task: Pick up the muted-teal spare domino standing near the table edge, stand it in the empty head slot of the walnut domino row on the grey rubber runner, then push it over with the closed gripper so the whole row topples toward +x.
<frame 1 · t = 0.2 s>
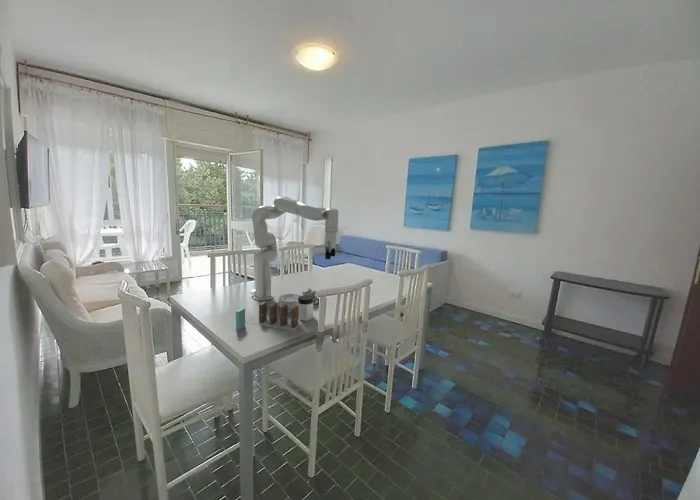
hand: (330, 257, 175), 31 cm above the table, fingers open, 9 cm apart
jar: (305, 318, 160), on the table
passion flower: (310, 304, 183), on the table
tile 2: (263, 321, 153), resting on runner
tile 4: (283, 324, 150), resting on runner
tile 3: (273, 322, 151), resting on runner
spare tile: (240, 328, 144), on the table
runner: (272, 323, 152), on the table
paper bowls: (291, 310, 172), on the table
tile 5: (294, 325, 149), resting on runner
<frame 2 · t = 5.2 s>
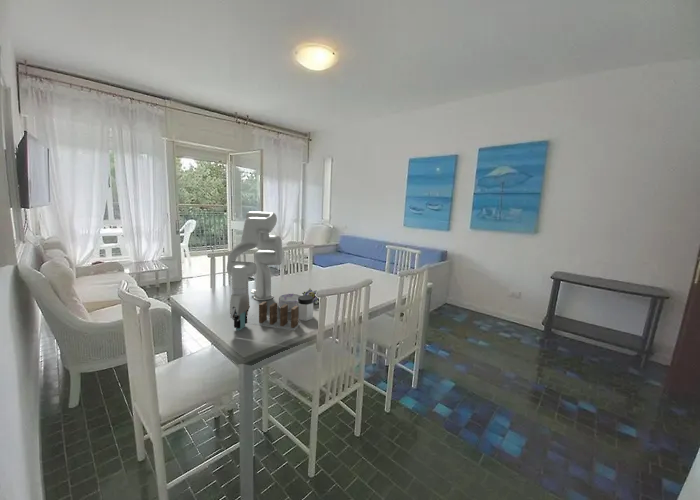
hand: (240, 325, 143), 2 cm above the table, fingers closed on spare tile, 4 cm apart
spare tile: (240, 328, 144), on the table, touching gripper
everything else where it was.
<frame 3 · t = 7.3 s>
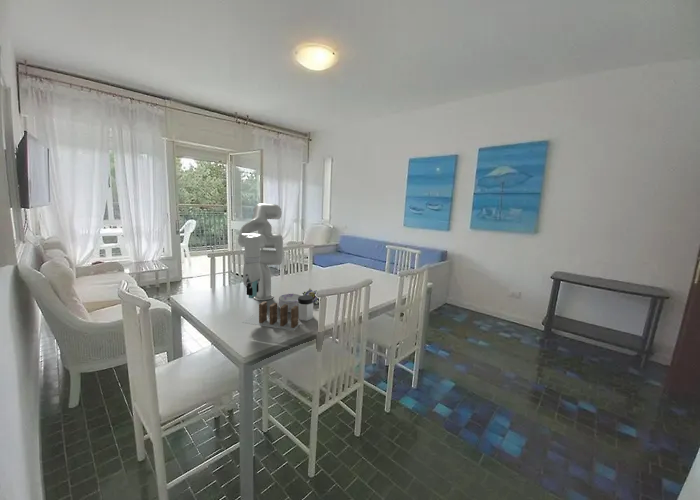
hand: (252, 293, 152), 15 cm above the table, fingers closed on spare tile, 4 cm apart
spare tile: (252, 296, 152), point 13 cm above the table, touching gripper
everything else where it was.
when the fingers open (3 cm above the table, at t = 9.9 s): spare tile stays where it is, resting on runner.
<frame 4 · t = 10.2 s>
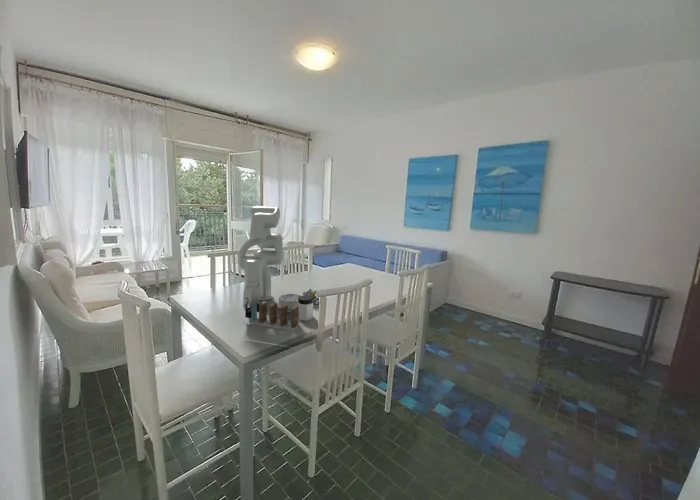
hand: (252, 314, 154), 3 cm above the table, fingers open, 7 cm apart
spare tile: (252, 319, 154), resting on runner
everything else where it was.
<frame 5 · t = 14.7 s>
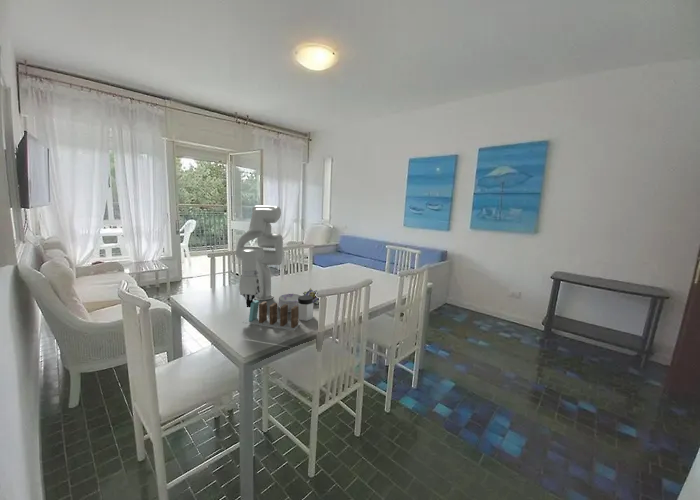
hand: (249, 306, 153), 8 cm above the table, fingers closed
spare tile: (252, 319, 154), point 1 cm above the table, tilted 7°, touching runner
everything else where it was.
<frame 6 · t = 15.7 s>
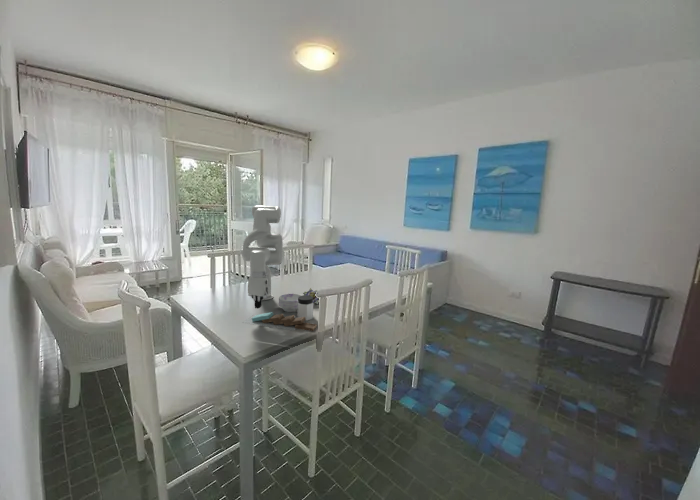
hand: (257, 307, 152), 8 cm above the table, fingers closed
tile 2: (264, 319, 152), point 1 cm above the table, tilted 73°, touching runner, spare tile, tile 3
tile 4: (286, 322, 150), point 1 cm above the table, tilted 72°, touching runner, tile 3, tile 5
tile 3: (275, 321, 151), point 1 cm above the table, tilted 72°, touching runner, tile 2, tile 4
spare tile: (254, 318, 154), point 1 cm above the table, tilted 72°, touching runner, tile 2
tile 5: (296, 324, 149), point 1 cm above the table, tilted 93°, touching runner, tile 4
everything else where it was.
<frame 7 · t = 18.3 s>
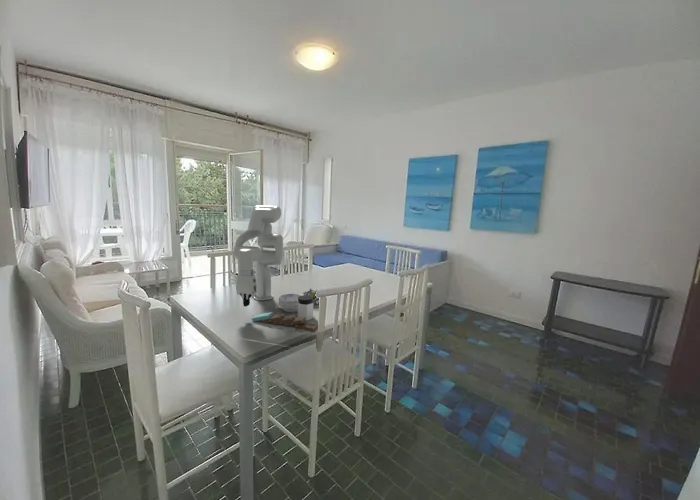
hand: (246, 305, 154), 8 cm above the table, fingers closed
nothing on the table moved.
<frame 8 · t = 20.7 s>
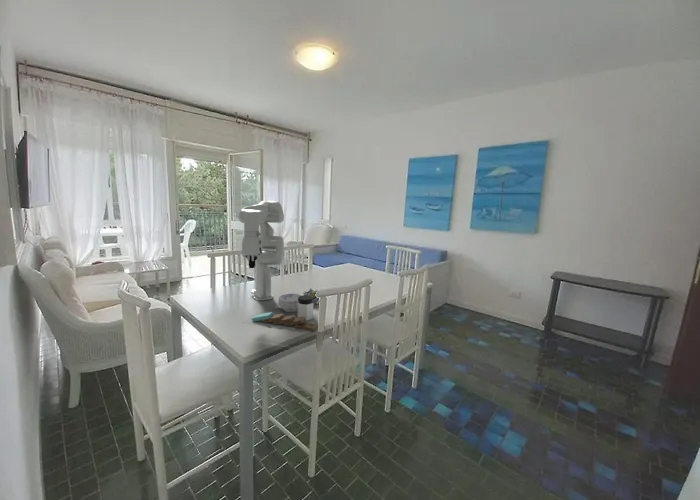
hand: (252, 267, 156), 27 cm above the table, fingers closed
nothing on the table moved.
at the end: tile 5 tilted 93°; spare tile tilted 72°; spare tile inside the target area (2.5 cm from its centre), point 1.3 cm above the table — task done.
